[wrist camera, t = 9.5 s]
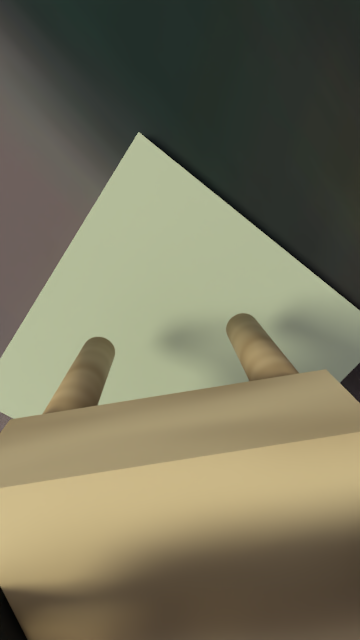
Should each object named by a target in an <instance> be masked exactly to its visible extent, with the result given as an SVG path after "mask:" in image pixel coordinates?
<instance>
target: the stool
mask: <svg viewBox="0 0 360 640" xmlns="http://www.w3.org/2000/svg"><path fill="white" fill-rule="evenodd" d="M226 333H227V336H228V338H229V340H230V342H231V344H232V346H233V348H234V350H235V352H236V354H237V356H238V359H239V361H240V363H241V365H242V367H243V369H244V371H245V373H246V375H247V377H248V379H249V381H248V382H242V383H236V384H230V385H223V386H217V387H211V388H204V389H198V390H192V391H186V392H179V393H173V394H167V395H160V396H154V397H148V398H141V399H135V400H129V401H123V402H116V403H110V404H104V405H98V403H99V400H100V397H101V394H102V391H103V388H104V385H105V383H106V380H107V377H108V374H109V371H110V368H111V365H112V362H113V360H114V357H115V348H114V345H113V344H112V343H111V342H110V341H109V340H108V339H106V338H103V337H93V338H90V339H89V340H87V341H86V343H85V344H84V346H83V347H82V349H81V351H80V352H79V354H78V356H77V357H76V359H75V361H74V362H73V364H72V366H71V367H70V369H69V371H68V372H67V374H66V376H65V377H64V379H63V381H62V382H61V384H60V386H59V387H58V389H57V391H56V392H55V394H54V396H53V397H52V399H51V400H50V402H49V404H48V405H47V407H46V409H45V410H44V412H43V414H41V415H34V416H28V417H22V418H16V419H10V421H9V422H8V423H7V425H6V426H5V427H4V429H3V430H2V431H1V433H0V586H1V588H2V590H3V592H4V594H5V596H6V598H7V600H8V602H9V604H10V606H11V608H12V610H13V612H14V614H15V616H16V618H17V620H18V622H19V624H20V626H21V628H22V630H23V632H24V634H25V636H26V638H27V640H360V403H359V402H358V401H357V400H356V399H355V398H354V397H353V396H352V395H351V394H350V393H349V392H348V391H347V390H346V389H345V388H344V387H343V386H342V385H341V384H340V383H339V382H338V381H337V380H336V379H335V378H334V377H333V376H332V375H331V374H330V373H329V372H328V371H327V370H326V369H324V370H318V371H311V372H305V373H299V372H298V371H297V370H296V369H295V367H294V366H293V365H292V364H291V362H290V361H289V360H288V359H287V357H286V356H285V355H284V354H283V352H282V351H281V350H280V349H279V348H278V346H277V345H276V344H275V343H274V341H273V340H272V339H271V338H270V336H269V335H268V334H267V333H266V331H265V330H264V329H263V328H262V327H261V325H260V324H259V323H258V322H257V320H256V319H255V318H254V317H253V316H252V315H250V314H246V313H240V314H237V315H235V316H233V317H232V318H231V319H230V320H229V321H228V323H227V326H226Z"/></svg>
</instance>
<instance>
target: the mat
mask: <svg viewBox="0 0 360 640" xmlns="http://www.w3.org/2000/svg"><path fill="white" fill-rule="evenodd" d="M240 313H246V314H250V315H252V316H253V317H254V318H255V319H256V320H257V322H258V323H259V324H260V325H261V327H262V328H263V329H264V330H265V331H266V333H267V334H268V335H269V336H270V338H271V339H272V340H273V341H274V343H275V344H276V345H277V346H278V348H279V349H280V350H281V351H282V352H283V354H284V355H285V356H286V357H287V359H288V360H289V361H290V362H291V364H292V365H293V366H294V367H295V369H296V370H297V371H298V372H299V373H305V372H311V371H318V370H324V369H326V370H327V371H328V372H329V373H330V374H331V375H332V376H333V377H334V378H335V379H336V380H337V381H338V382H339V383H340V382H341V381H342V380H343V379H344V378H345V377H346V376H347V375H348V374H349V373H350V372H351V371H352V370H353V369H354V368H355V367H356V366H357V365H358V364H359V363H360V310H358V309H357V308H356V307H355V306H353V305H352V304H351V303H350V302H349V301H347V300H346V299H345V298H344V297H342V296H341V295H340V294H339V293H337V292H336V291H335V290H334V289H332V288H331V287H330V286H329V285H327V284H326V283H325V282H324V281H322V280H321V279H320V278H319V277H318V276H316V275H315V274H314V273H313V272H311V271H310V270H309V269H308V268H306V267H305V266H304V265H303V264H301V263H300V262H299V261H298V260H296V259H295V258H294V257H293V256H292V255H290V254H289V253H288V252H287V251H285V250H284V249H283V248H282V247H280V246H279V245H278V244H277V243H275V242H274V241H273V240H272V239H270V238H269V237H268V236H267V235H266V234H264V233H263V232H262V231H261V230H259V229H258V228H257V227H256V226H254V225H253V224H252V223H251V222H249V221H248V220H247V219H246V218H244V217H243V216H242V215H241V214H240V213H238V212H237V211H236V210H235V209H233V208H232V207H231V206H230V205H228V204H227V203H226V202H225V201H223V200H222V199H221V198H220V197H218V196H217V195H216V194H215V193H213V192H212V191H211V190H210V189H209V188H207V187H206V186H205V185H204V184H202V183H201V182H200V181H199V180H197V179H196V178H195V177H194V176H192V175H191V174H190V173H189V172H187V171H186V170H185V169H184V168H183V167H181V166H180V165H179V164H178V163H176V162H175V161H174V160H173V159H171V158H170V157H169V156H168V155H166V154H165V153H164V152H163V151H161V150H160V149H159V148H158V147H157V146H155V145H154V144H153V143H152V142H150V141H149V140H148V139H147V138H145V137H144V136H143V135H142V134H140V133H139V132H138V134H137V136H136V137H135V139H134V141H133V142H132V144H131V145H130V147H129V149H128V150H127V152H126V154H125V155H124V157H123V159H122V160H121V162H120V164H119V165H118V167H117V168H116V170H115V172H114V173H113V175H112V177H111V178H110V180H109V182H108V183H107V185H106V186H105V188H104V190H103V191H102V193H101V195H100V196H99V198H98V200H97V201H96V203H95V204H94V206H93V208H92V209H91V211H90V213H89V214H88V216H87V218H86V219H85V221H84V223H83V224H82V226H81V227H80V229H79V231H78V232H77V234H76V236H75V237H74V239H73V241H72V242H71V244H70V245H69V247H68V249H67V250H66V252H65V254H64V255H63V257H62V259H61V260H60V262H59V263H58V265H57V267H56V268H55V270H54V272H53V273H52V275H51V277H50V278H49V280H48V282H47V283H46V285H45V286H44V288H43V290H42V291H41V293H40V295H39V296H38V298H37V300H36V301H35V303H34V304H33V306H32V308H31V309H30V311H29V313H28V314H27V316H26V318H25V319H24V321H23V322H22V324H21V326H20V327H19V329H18V331H17V332H16V334H15V336H14V337H13V339H12V341H11V342H10V344H9V345H8V347H7V349H6V350H5V352H4V354H3V355H2V357H1V359H0V412H2V413H4V414H6V415H8V416H10V417H12V418H13V419H16V418H22V417H28V416H34V415H41V414H43V412H44V410H45V409H46V407H47V405H48V404H49V402H50V400H51V399H52V397H53V396H54V394H55V392H56V391H57V389H58V387H59V386H60V384H61V382H62V381H63V379H64V377H65V376H66V374H67V372H68V371H69V369H70V367H71V366H72V364H73V362H74V361H75V359H76V357H77V356H78V354H79V352H80V351H81V349H82V347H83V346H84V344H85V343H86V341H87V340H89V339H90V338H93V337H103V338H106V339H108V340H109V341H110V342H111V343H112V344H113V345H114V348H115V357H114V360H113V362H112V365H111V368H110V371H109V374H108V377H107V380H106V383H105V385H104V388H103V391H102V394H101V397H100V400H99V403H98V405H104V404H110V403H116V402H123V401H129V400H135V399H141V398H148V397H154V396H160V395H167V394H173V393H179V392H186V391H192V390H198V389H204V388H211V387H217V386H223V385H230V384H236V383H242V382H248V381H249V379H248V377H247V375H246V373H245V371H244V369H243V367H242V365H241V363H240V361H239V359H238V356H237V354H236V352H235V350H234V348H233V346H232V344H231V342H230V340H229V338H228V336H227V333H226V326H227V323H228V321H229V320H230V319H231V318H232V317H233V316H235V315H237V314H240Z"/></svg>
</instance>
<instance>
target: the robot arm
mask: <svg viewBox="0 0 360 640" xmlns="http://www.w3.org/2000/svg"><path fill="white" fill-rule="evenodd" d="M0 640H27V638H26V636H25V634H24V632H23V630H22V628H21V626H20V624H19V622H18V620H17V618H16V616H15V614H14V612H13V610H12V608H11V606H10V604H9V602H8V600H7V598H6V596H5V594H4V592H3V590H2V588H1V586H0Z"/></svg>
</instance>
